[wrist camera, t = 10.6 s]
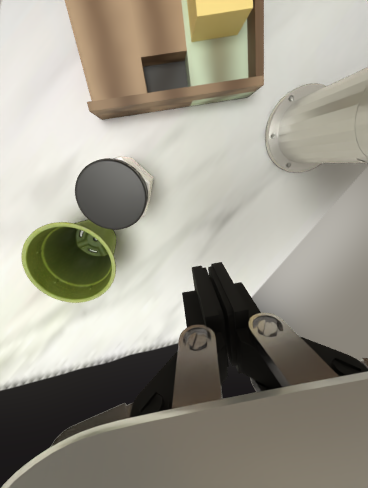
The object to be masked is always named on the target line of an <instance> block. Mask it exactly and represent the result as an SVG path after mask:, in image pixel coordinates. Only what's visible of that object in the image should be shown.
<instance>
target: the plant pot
mask: <svg viewBox="0 0 368 488" xmlns="http://www.w3.org/2000/svg"><path fill="white" fill-rule="evenodd" d="M81 230H82V231H83V234H82V237H80V231H81ZM94 237H95V238H96V239H97V241H94V239H93V238H94ZM115 246H116V235H115V233H114V231H113V230H111V229H106V228H102V227H100V226H98V225H96V224H94V223H93V222H91V221H90V220H85V221H81V222H78V223H74V224H73V223H67V222H58V223H51V224H47V225H44V226H42V227H40V228H38V229H37V230H35V231H34V232H33V233H32V234H31V235H30V236H29V237H28V238H27V240H26V241H25V243H24V246H23V249H22V265H23V268H24V270H25V273H26V275H27V277H28V278H29V279H30V281H31V282H32V283H33V284H34V285H35V286H36V287H37V288H38V289H39V290H40V291H42V292H43V293H45V294H47V295H48V296H50V297H52V298H55V299H58V300H61V301H65V302H72V303H79V302H86V301H90V300H93V299H95V298H97V297H99V296H101V295H102V294H104V293H105V292H106V291H107V290H108V289H109V287H110V286H111V284H112V283H113V280H114V277H115V272H116V264H115V259H114V251H115ZM89 249H91V250H94V251H97V253H93V252H90V251H89Z"/></svg>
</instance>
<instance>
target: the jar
mask: <svg viewBox="0 0 368 488" xmlns="http://www.w3.org/2000/svg"><path fill="white" fill-rule="evenodd" d="M152 183H153V177H152V176H151V175H150V174H149V173H148V172H147V171H146V170H145V169H144V168H143V167H141V166H140V165H139V164H138V163H137V162H136V161H135V160H134V159H133V158H129V157H121V156H119V157H116V158H113V159H110V158H109V159H100V160H97V161H95V162H92V163H90V164H89V165H87V166H86V167H85V168H84V169H83V170H82V171H81V173H80V174H79V176H78V178H77V181H76V185H75V196H76V200H77V203H78V206H79V208H80V210H81V211H82V213H83V214H84V215H85V216H86V217H87V218H88V219H89V220H90V221H91V222H93V223H94V224H96V225H98V226H100V227H102V228H106V229H111V230H119V229H124V228H127V227H130V226H131V225H133V224H135V223H136V222H137V221H138V220H139V219H140V218H141V217H144V216H145V213H146V211H147V208H148V205H149V202H150V196H151V189H152Z"/></svg>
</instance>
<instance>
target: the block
mask: <svg viewBox="0 0 368 488" xmlns="http://www.w3.org/2000/svg"><path fill="white" fill-rule="evenodd" d="M187 7H188V15H189V24H190V33H191V42H196V41H202V40H209V39H215V38H221V37H227V36H233V35H238V33H239V31H240V30H241V28H242V26H243V24H244V23H245V21H246V19H247V17H248V16H249V14H250V12H251V10H252V9H253V0H187Z"/></svg>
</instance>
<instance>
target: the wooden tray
mask: <svg viewBox="0 0 368 488" xmlns="http://www.w3.org/2000/svg"><path fill="white" fill-rule="evenodd" d="M65 3H66V7H67V10H68V14H69V18H70V22H71V25H72V29H73V33H74V37H75V40H76V44H77V48H78V51H79V55H80V59H81V63H82V66H83V70H84V74H85V77H86V81H87V85H88V89H89V92H90V96H91V100H92V101H91V102H87V104H88V108H89V111H90V112H91V113H93V114H94V115H96V116H97V117H99V118H100V119H102V120H103V119H110V118H116V117H123V116H129V115H136V114H142V113H149V112H155V111H162V110H168V109H175V108H181V107H188V106H194V105H201V104H207V103H214V102H220V101H227V100H233V99H240V98H246V97H249V96H250V95H251V94H253V93H254V92H255V91H256V90H258V89H259V88H260V87H262V86H263V85H264V0H253V9H252V10H251V12H250V14H249V16H248V17H247V19H246V21H245V23H244V24H243V26H242V28H241V30H240V31H239V33H238V35H233V36H227V37H221V38H215V39H209V40H202V41H196V42H191V33H190V24H189V15H188V7H187V0H65Z"/></svg>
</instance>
